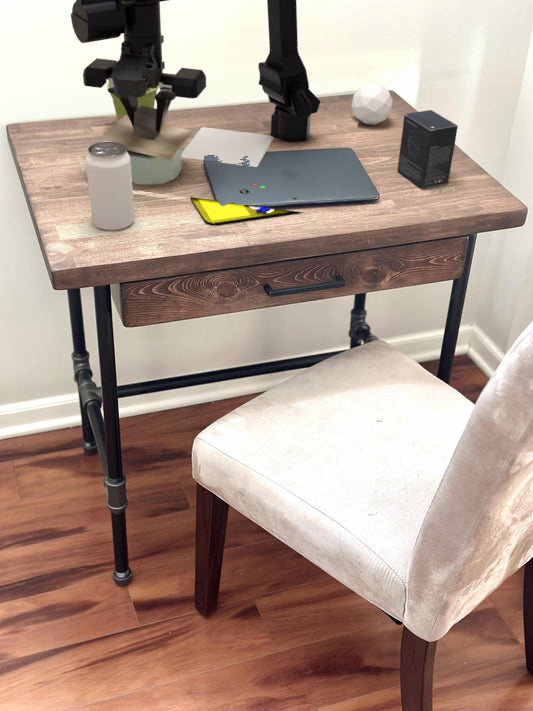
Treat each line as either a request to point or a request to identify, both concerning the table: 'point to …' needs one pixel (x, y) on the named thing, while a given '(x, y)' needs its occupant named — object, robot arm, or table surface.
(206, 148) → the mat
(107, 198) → the can
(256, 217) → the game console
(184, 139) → the lid
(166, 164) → the bowl
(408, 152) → the box
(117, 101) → the plant pot
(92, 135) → the table surface
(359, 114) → the geometric ball
